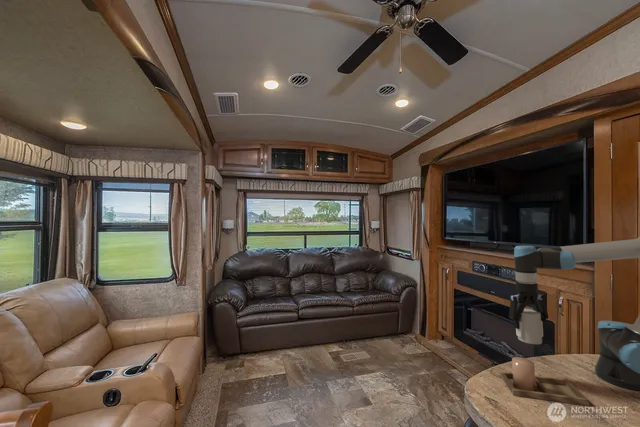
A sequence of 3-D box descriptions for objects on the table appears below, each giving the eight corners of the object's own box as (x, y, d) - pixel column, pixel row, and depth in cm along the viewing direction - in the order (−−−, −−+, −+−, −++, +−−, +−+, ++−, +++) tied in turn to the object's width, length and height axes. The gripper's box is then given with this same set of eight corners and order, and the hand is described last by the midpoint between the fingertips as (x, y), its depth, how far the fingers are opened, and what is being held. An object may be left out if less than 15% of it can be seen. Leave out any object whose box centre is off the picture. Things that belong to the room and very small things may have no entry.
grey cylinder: (547, 343, 110) (545, 314, 111) (529, 345, 109) (527, 315, 110) (530, 335, 118) (528, 308, 119) (513, 336, 117) (511, 309, 118)
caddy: (566, 385, 106) (566, 379, 107) (589, 407, 94) (588, 400, 94) (500, 377, 113) (500, 371, 113) (513, 396, 100) (513, 390, 101)
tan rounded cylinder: (530, 383, 107) (529, 358, 108) (539, 394, 101) (537, 367, 101) (510, 381, 109) (509, 356, 110) (517, 391, 103) (516, 364, 103)
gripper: (542, 279, 119) (546, 331, 118) (496, 280, 118) (499, 333, 117) (558, 283, 111) (561, 338, 110) (508, 284, 111) (512, 340, 110)
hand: (529, 335), depth 114 cm, fingers closed on grey cylinder, 8 cm apart
